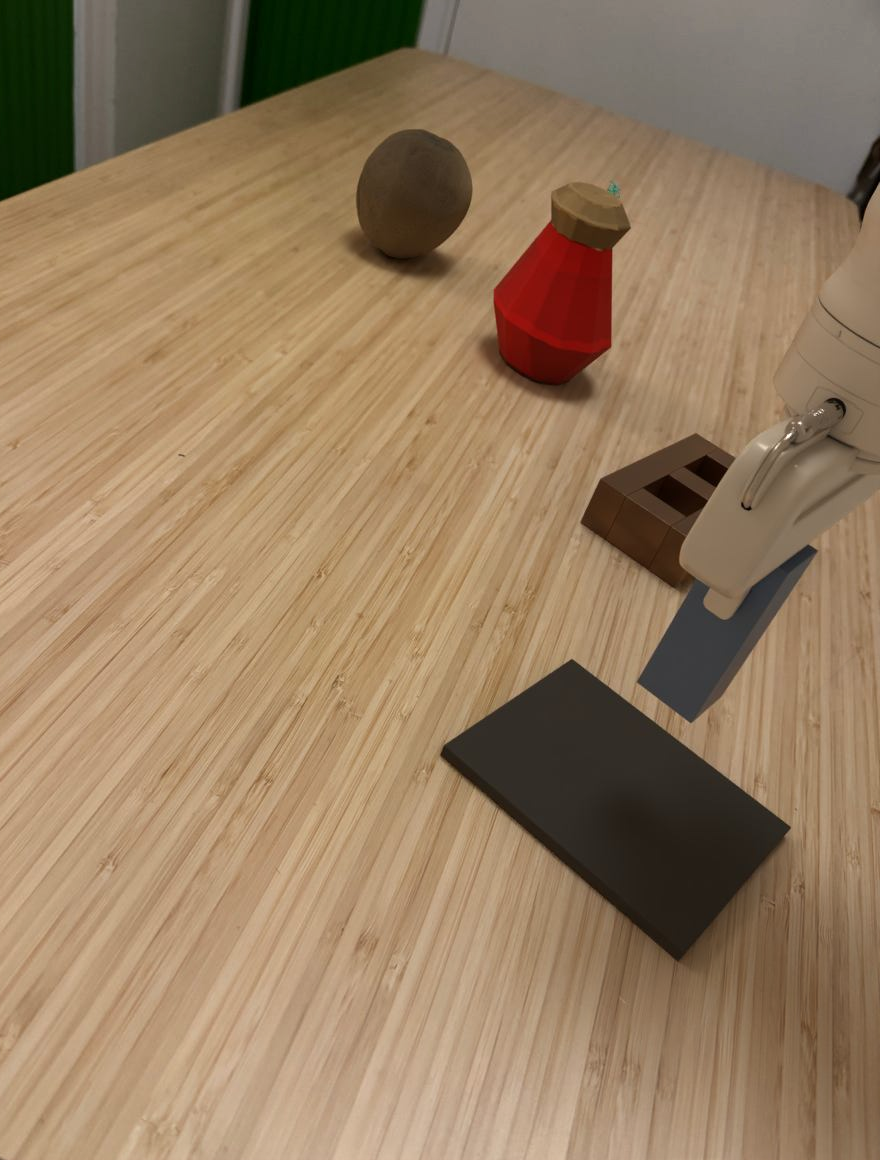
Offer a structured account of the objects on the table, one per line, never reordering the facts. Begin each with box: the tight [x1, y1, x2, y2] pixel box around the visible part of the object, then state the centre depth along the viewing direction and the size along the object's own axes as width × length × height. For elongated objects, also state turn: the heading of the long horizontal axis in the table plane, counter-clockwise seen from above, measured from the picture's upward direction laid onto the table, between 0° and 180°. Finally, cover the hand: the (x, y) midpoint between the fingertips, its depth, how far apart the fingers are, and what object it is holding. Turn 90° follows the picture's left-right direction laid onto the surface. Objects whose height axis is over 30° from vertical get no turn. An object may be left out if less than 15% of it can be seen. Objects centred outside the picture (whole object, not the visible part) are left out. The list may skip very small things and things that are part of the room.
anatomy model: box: [583, 179, 622, 200], centre depth 174 cm, size 5×8×7 cm
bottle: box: [493, 181, 632, 387], centre depth 116 cm, size 16×14×20 cm
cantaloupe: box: [355, 128, 474, 259], centre depth 132 cm, size 14×14×15 cm
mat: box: [439, 658, 792, 962], centre depth 72 cm, size 20×16×1 cm
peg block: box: [580, 432, 737, 588], centre depth 101 cm, size 11×19×5 cm, turn 137°
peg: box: [636, 544, 819, 724], centre depth 62 cm, size 4×4×12 cm
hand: (740, 593), depth 60 cm, fingers closed on peg, 4 cm apart
